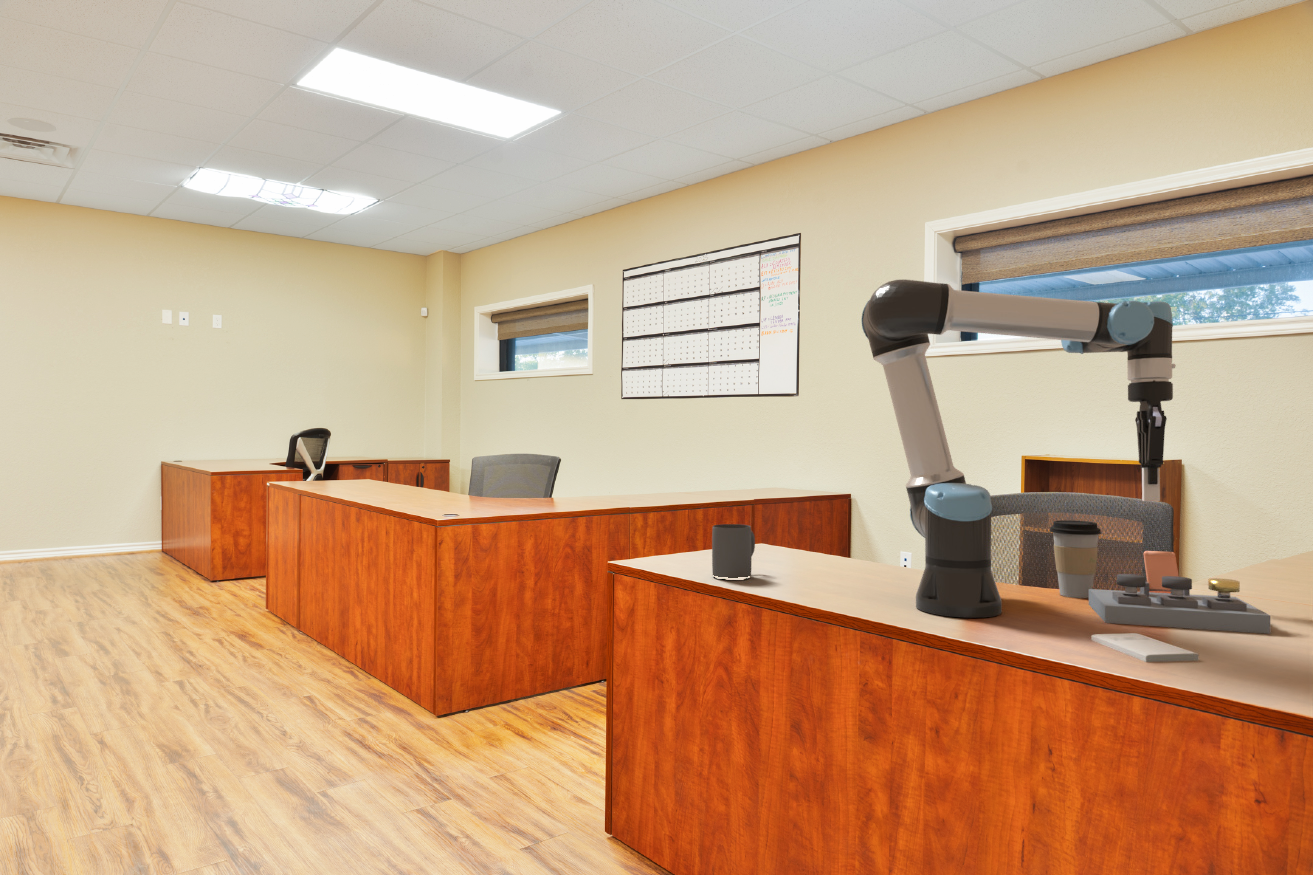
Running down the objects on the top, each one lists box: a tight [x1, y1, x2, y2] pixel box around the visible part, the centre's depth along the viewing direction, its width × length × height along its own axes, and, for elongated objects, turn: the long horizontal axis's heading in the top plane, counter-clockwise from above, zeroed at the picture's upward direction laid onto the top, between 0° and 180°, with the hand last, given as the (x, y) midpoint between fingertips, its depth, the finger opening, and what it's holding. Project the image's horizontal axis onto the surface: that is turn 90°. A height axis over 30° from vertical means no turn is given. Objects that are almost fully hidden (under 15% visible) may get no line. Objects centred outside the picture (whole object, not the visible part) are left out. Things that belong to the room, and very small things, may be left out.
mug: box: [711, 523, 756, 578], centre depth 185 cm, size 14×9×12 cm
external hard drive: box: [1090, 632, 1200, 663], centre depth 120 cm, size 2×8×12 cm
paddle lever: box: [1143, 550, 1180, 593], centre depth 148 cm, size 5×1×8 cm
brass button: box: [1207, 577, 1241, 598], centre depth 136 cm, size 4×4×3 cm
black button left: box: [1116, 573, 1147, 593], centre depth 141 cm, size 4×4×3 cm
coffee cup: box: [1049, 519, 1102, 599], centre depth 162 cm, size 9×9×15 cm
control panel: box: [1088, 581, 1271, 635], centre depth 141 cm, size 24×16×5 cm, turn 70°
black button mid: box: [1162, 576, 1193, 596], centre depth 138 cm, size 4×4×3 cm
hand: (1151, 500), depth 155 cm, fingers closed
